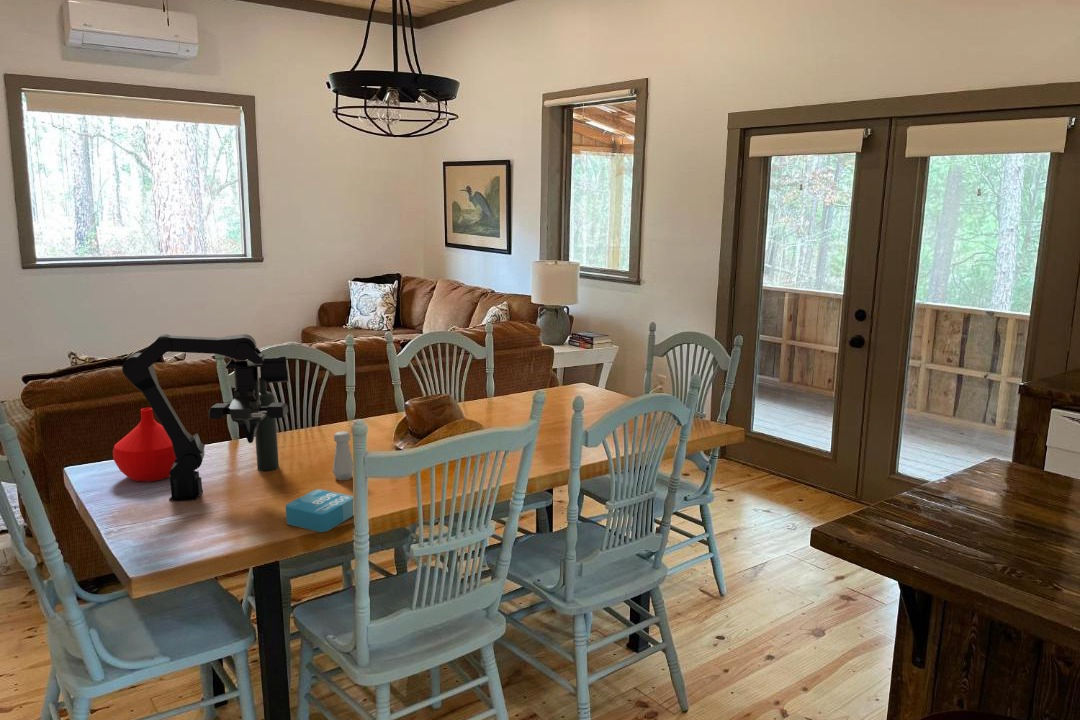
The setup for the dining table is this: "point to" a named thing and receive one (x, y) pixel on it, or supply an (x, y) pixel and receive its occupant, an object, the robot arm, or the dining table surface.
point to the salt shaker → (342, 457)
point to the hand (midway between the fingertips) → (250, 442)
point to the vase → (145, 450)
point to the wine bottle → (266, 433)
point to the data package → (319, 510)
